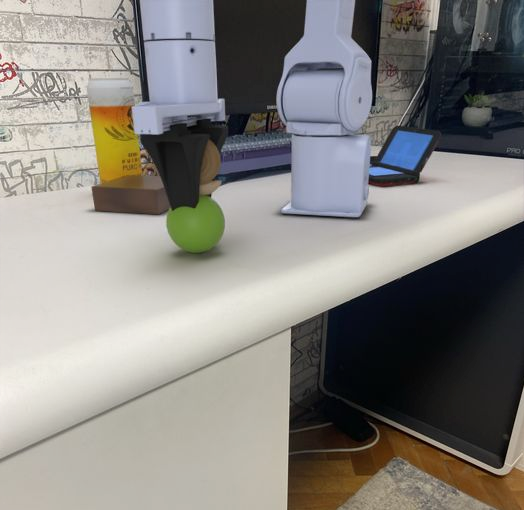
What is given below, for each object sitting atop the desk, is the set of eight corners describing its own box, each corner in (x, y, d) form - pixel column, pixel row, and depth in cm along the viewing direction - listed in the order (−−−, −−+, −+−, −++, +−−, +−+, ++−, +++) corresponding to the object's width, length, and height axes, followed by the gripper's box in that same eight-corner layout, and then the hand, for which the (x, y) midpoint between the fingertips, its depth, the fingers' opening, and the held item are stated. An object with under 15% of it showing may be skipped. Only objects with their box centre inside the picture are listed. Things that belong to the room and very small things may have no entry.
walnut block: (188, 200, 73) (187, 177, 72) (158, 214, 65) (156, 189, 64) (130, 196, 75) (127, 174, 74) (94, 210, 68) (91, 186, 66)
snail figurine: (162, 245, 53) (150, 113, 48) (226, 244, 53) (222, 113, 48) (154, 260, 48) (141, 115, 43) (225, 259, 49) (220, 115, 43)
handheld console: (337, 175, 90) (339, 127, 87) (391, 170, 94) (395, 124, 90) (378, 187, 80) (383, 134, 76) (437, 182, 83) (444, 130, 80)
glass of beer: (134, 197, 75) (120, 77, 68) (94, 196, 76) (76, 78, 69) (150, 189, 80) (139, 77, 73) (113, 188, 81) (98, 78, 75)
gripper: (173, 47, 50) (184, 194, 57) (85, 38, 38) (112, 227, 44) (243, 45, 49) (247, 197, 55) (176, 35, 36) (190, 233, 42)
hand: (191, 211), depth 49 cm, fingers closed on snail figurine, 2 cm apart
